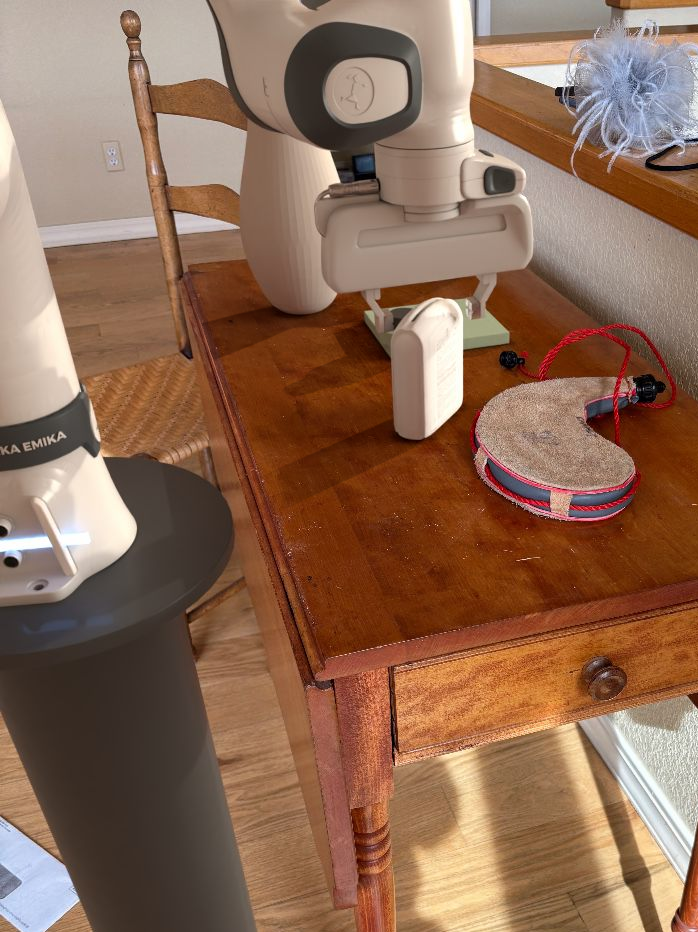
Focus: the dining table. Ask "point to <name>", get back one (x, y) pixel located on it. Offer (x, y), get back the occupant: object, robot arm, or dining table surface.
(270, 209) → the vase
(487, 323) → the scale
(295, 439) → the dining table surface
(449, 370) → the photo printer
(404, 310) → the button
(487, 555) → the dining table surface
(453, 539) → the dining table surface
